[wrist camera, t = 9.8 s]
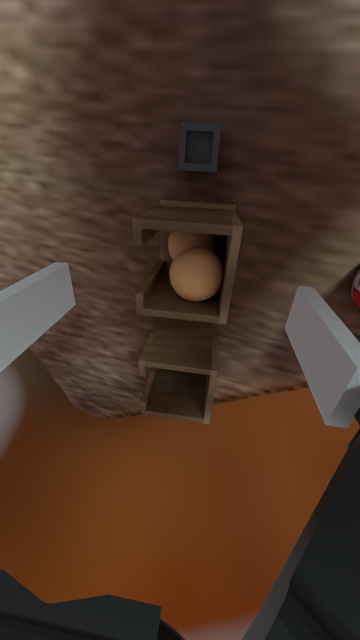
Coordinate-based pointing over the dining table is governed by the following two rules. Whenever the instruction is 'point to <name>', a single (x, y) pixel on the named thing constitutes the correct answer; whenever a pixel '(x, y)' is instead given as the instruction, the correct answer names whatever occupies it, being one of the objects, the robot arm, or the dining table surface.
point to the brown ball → (196, 274)
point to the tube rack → (184, 311)
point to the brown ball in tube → (189, 242)
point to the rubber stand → (199, 146)
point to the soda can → (356, 289)
